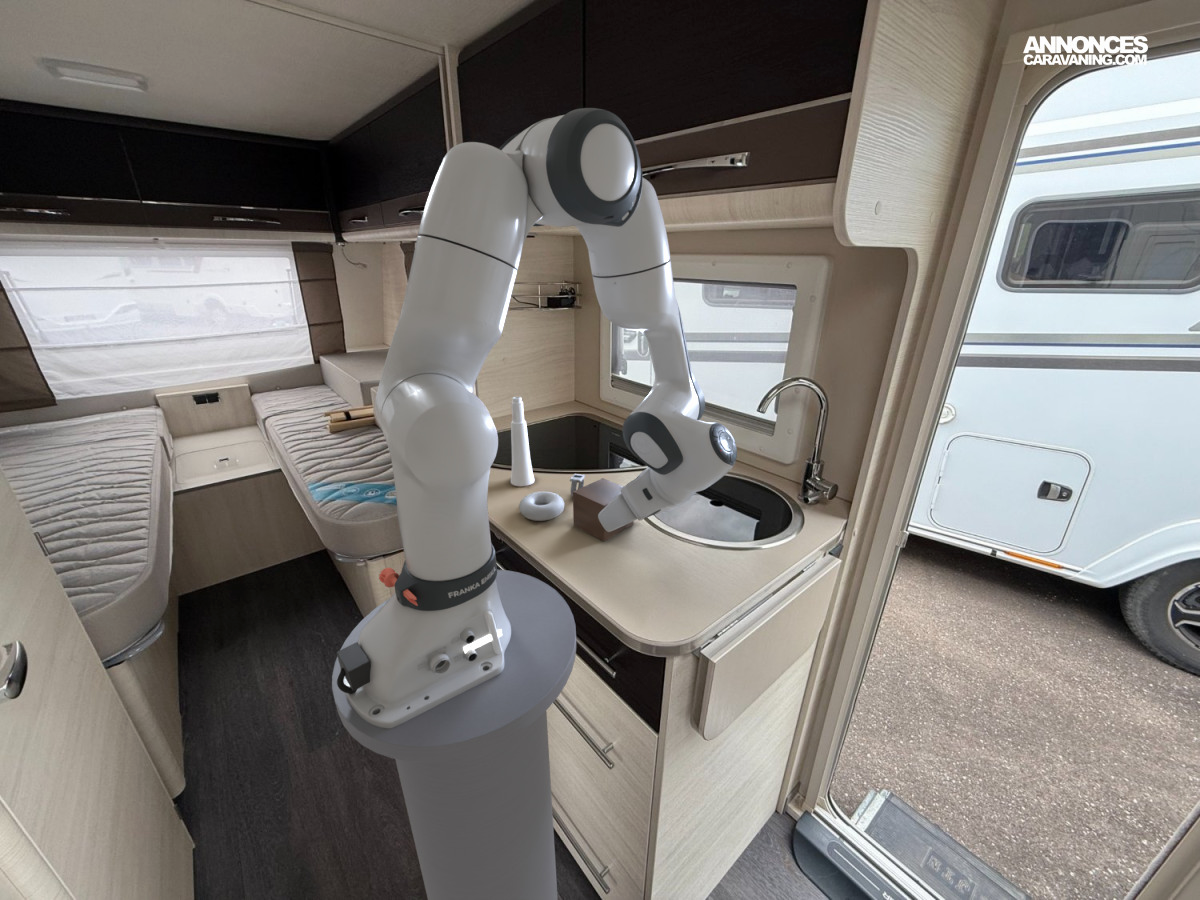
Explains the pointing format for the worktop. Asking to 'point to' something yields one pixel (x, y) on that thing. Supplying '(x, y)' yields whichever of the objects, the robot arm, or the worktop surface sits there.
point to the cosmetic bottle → (520, 447)
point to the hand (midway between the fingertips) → (621, 515)
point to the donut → (541, 506)
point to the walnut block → (595, 507)
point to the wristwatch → (576, 479)
